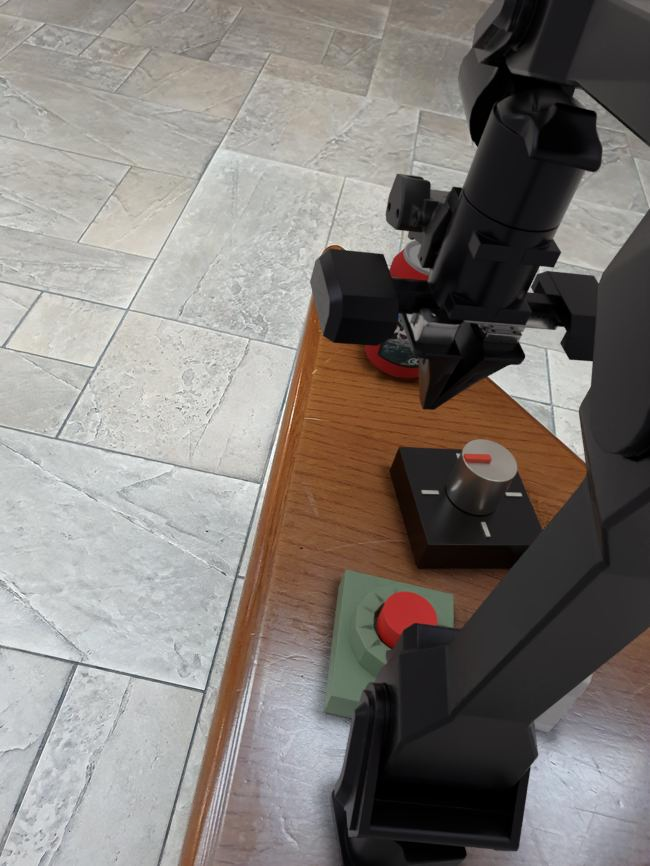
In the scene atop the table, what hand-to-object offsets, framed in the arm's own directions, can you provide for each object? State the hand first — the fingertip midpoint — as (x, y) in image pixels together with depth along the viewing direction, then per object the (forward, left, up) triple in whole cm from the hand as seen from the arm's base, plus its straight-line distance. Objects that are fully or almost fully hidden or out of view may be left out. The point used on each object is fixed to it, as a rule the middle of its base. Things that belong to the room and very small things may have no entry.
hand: (426, 405), depth 58 cm
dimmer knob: (+1, -8, -10) cm, 13 cm away
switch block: (-11, +2, -13) cm, 18 cm away
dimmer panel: (+1, -8, -13) cm, 15 cm away
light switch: (-11, -10, -14) cm, 20 cm away
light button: (-11, +1, -10) cm, 15 cm away
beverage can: (+21, -7, -14) cm, 26 cm away
